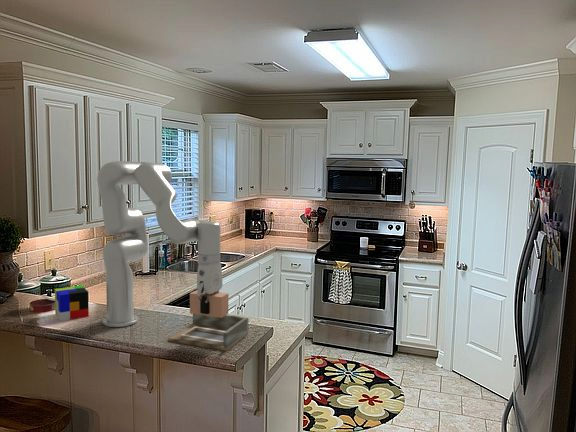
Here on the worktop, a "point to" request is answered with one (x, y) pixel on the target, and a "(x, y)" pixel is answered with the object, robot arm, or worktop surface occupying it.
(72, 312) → the puzzle toy
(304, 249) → the worktop surface
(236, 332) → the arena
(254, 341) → the worktop surface
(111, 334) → the worktop surface
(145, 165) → the robot arm
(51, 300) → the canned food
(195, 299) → the block
